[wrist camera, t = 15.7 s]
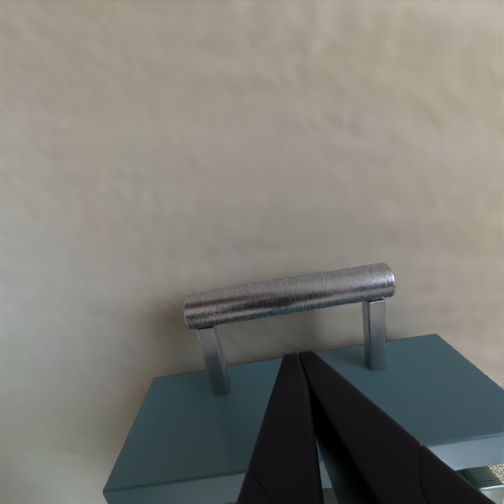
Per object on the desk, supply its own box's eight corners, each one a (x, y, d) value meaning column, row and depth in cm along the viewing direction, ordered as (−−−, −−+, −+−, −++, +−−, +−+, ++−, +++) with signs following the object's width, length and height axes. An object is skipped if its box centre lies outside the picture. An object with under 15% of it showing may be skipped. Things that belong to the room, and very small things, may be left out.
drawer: (124, 293, 10) (41, 374, 6) (440, 240, 10) (581, 288, 6) (213, 550, 15) (200, 694, 11) (428, 520, 14) (500, 657, 10)
